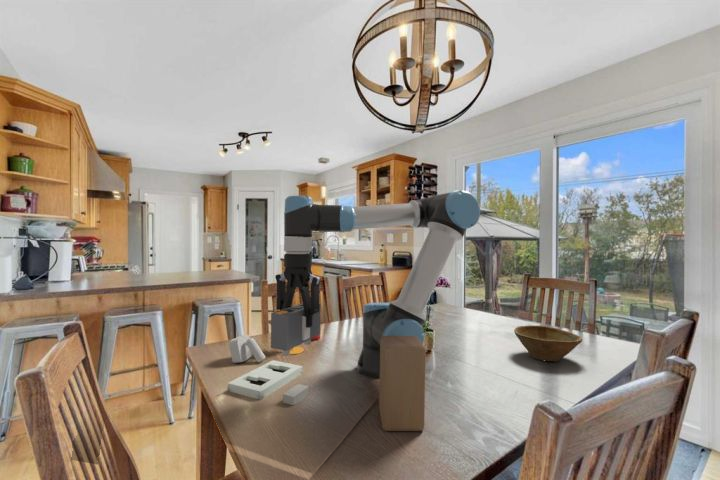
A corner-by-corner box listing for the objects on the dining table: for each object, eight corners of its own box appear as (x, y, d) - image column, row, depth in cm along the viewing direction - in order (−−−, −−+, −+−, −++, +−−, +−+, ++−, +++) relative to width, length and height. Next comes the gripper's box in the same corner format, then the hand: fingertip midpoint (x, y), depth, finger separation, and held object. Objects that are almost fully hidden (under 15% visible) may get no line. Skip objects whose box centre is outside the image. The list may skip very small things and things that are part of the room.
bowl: (590, 373, 115) (590, 344, 115) (516, 364, 123) (517, 337, 123) (572, 353, 136) (573, 328, 136) (510, 346, 143) (511, 322, 143)
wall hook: (260, 365, 116) (254, 336, 117) (234, 369, 118) (228, 341, 119) (271, 357, 124) (265, 330, 125) (246, 361, 126) (240, 335, 127)
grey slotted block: (320, 341, 99) (320, 302, 99) (286, 359, 84) (287, 313, 84) (305, 339, 101) (306, 301, 101) (270, 356, 86) (271, 311, 86)
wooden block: (416, 410, 89) (418, 334, 88) (425, 432, 79) (426, 347, 78) (378, 410, 88) (379, 334, 88) (382, 432, 78) (383, 347, 78)
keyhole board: (302, 375, 110) (302, 366, 110) (260, 402, 92) (260, 391, 91) (272, 368, 115) (273, 360, 115) (227, 393, 96) (227, 383, 96)
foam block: (308, 396, 95) (308, 386, 95) (293, 408, 89) (294, 396, 89) (297, 394, 97) (298, 383, 97) (282, 405, 90) (282, 394, 90)
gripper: (333, 253, 92) (332, 338, 92) (279, 251, 100) (279, 329, 100) (319, 254, 85) (318, 346, 86) (262, 252, 93) (261, 336, 93)
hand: (297, 337), depth 93 cm, fingers closed on grey slotted block, 5 cm apart
